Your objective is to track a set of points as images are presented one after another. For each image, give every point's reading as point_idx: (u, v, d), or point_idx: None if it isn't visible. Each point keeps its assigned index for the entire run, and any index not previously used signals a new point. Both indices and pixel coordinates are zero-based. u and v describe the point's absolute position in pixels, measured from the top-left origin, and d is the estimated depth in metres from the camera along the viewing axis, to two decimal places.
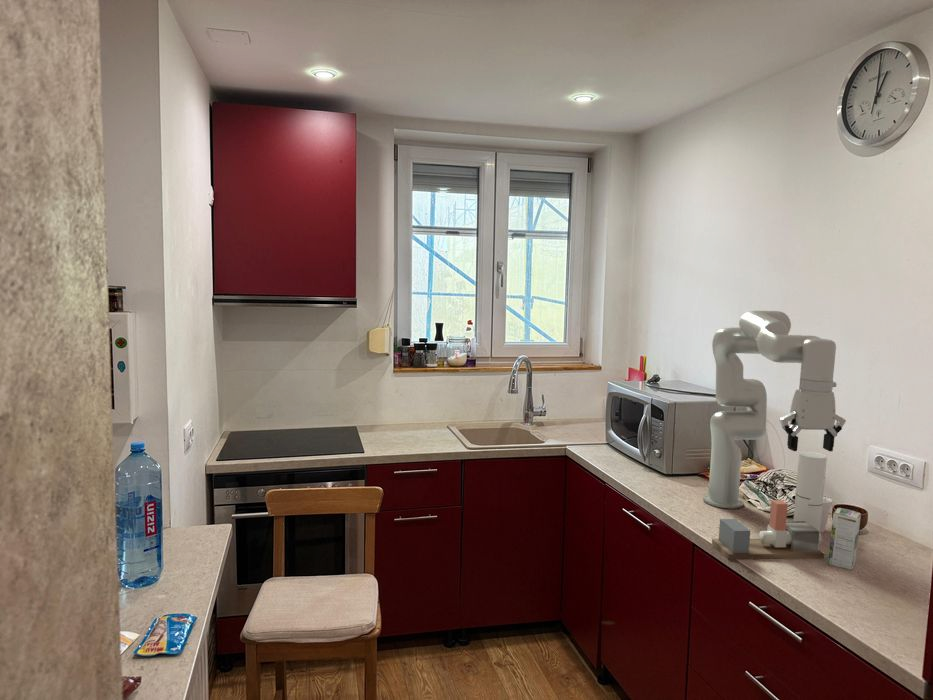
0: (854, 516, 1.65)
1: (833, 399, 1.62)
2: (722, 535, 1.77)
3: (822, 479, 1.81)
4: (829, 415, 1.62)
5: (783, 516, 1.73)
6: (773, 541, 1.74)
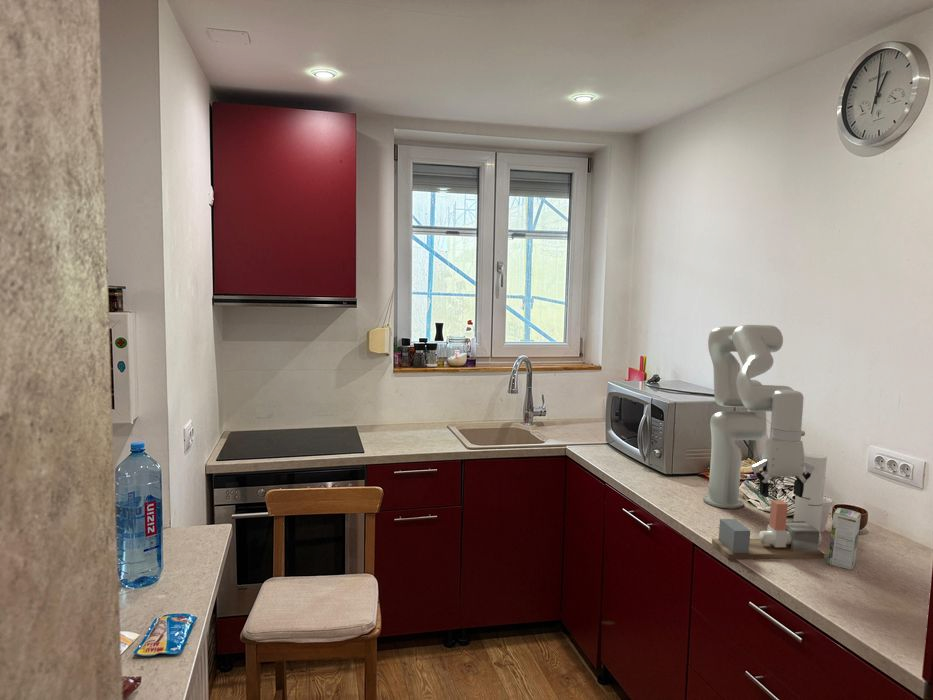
0: (854, 516, 1.65)
1: (802, 448, 1.70)
2: (722, 535, 1.77)
3: (822, 479, 1.81)
4: (798, 463, 1.70)
5: (783, 516, 1.73)
6: (773, 541, 1.74)
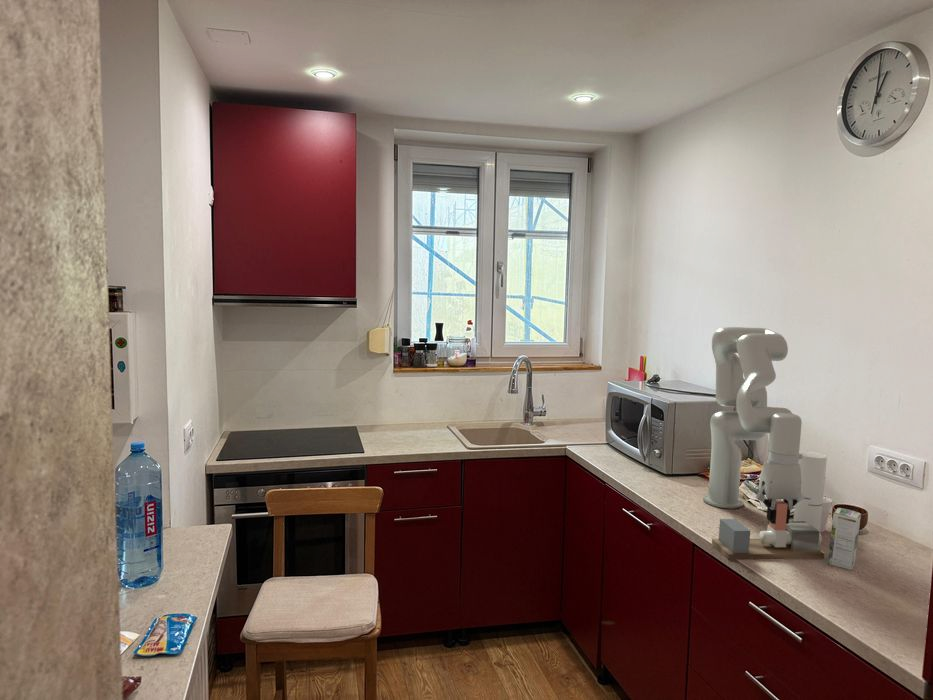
0: (854, 516, 1.65)
1: (799, 471, 1.71)
2: (722, 535, 1.77)
3: (822, 479, 1.81)
4: (795, 486, 1.72)
5: (783, 516, 1.73)
6: (773, 541, 1.74)
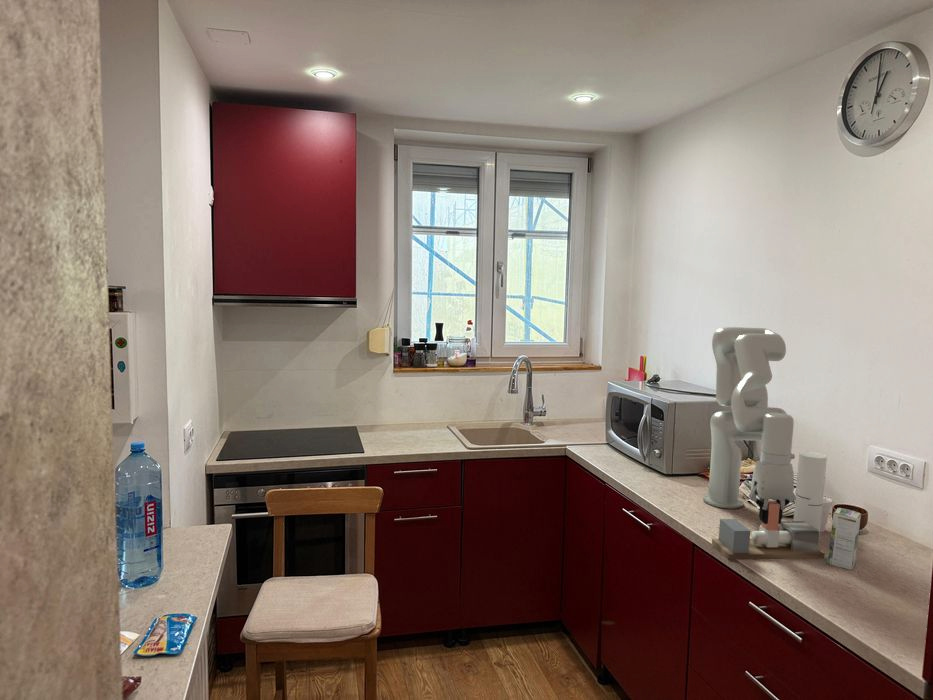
0: (854, 516, 1.65)
1: (791, 471, 1.71)
2: (722, 535, 1.77)
3: (822, 479, 1.81)
4: (788, 486, 1.71)
5: (775, 516, 1.73)
6: (765, 541, 1.74)
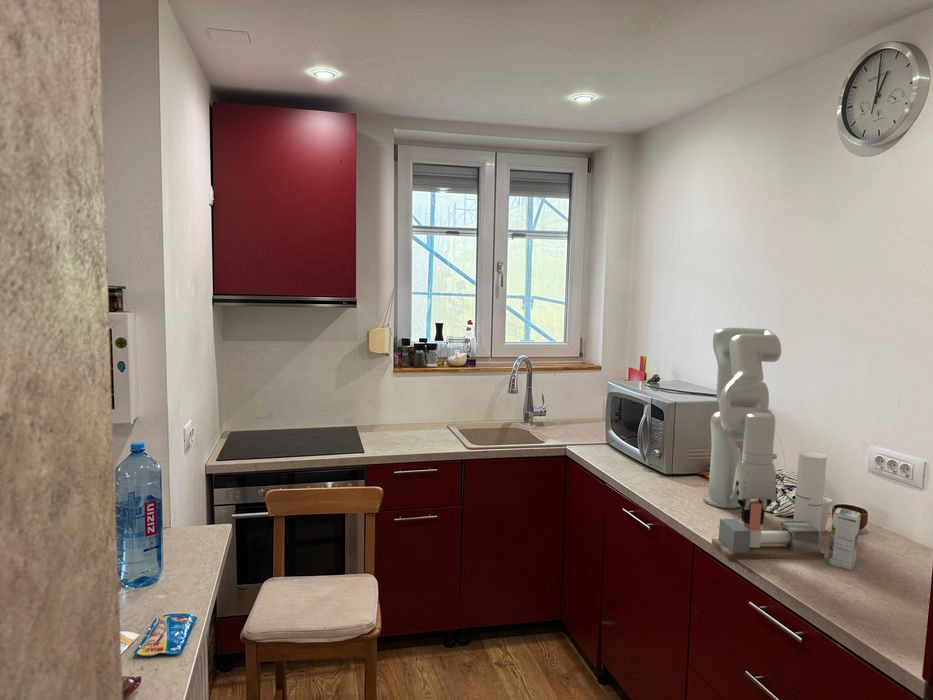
0: (854, 516, 1.65)
1: (773, 471, 1.71)
2: (722, 535, 1.77)
3: (822, 479, 1.81)
4: (769, 486, 1.71)
5: (757, 516, 1.73)
6: None
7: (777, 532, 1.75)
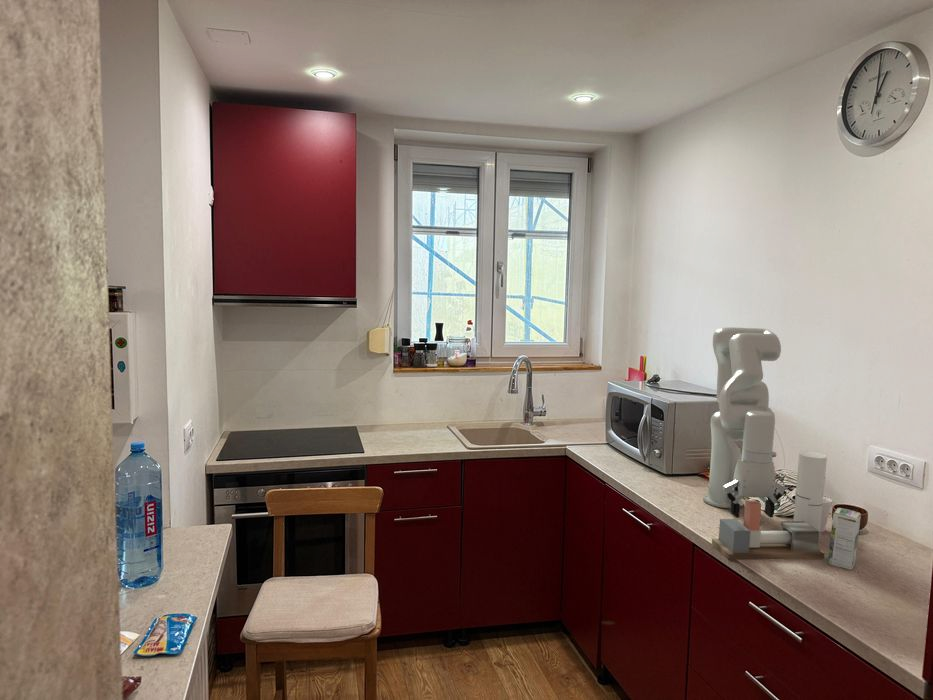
0: (854, 516, 1.65)
1: (773, 469, 1.71)
2: (722, 535, 1.77)
3: (822, 479, 1.81)
4: (769, 484, 1.71)
5: (757, 516, 1.73)
6: None
7: (777, 532, 1.75)
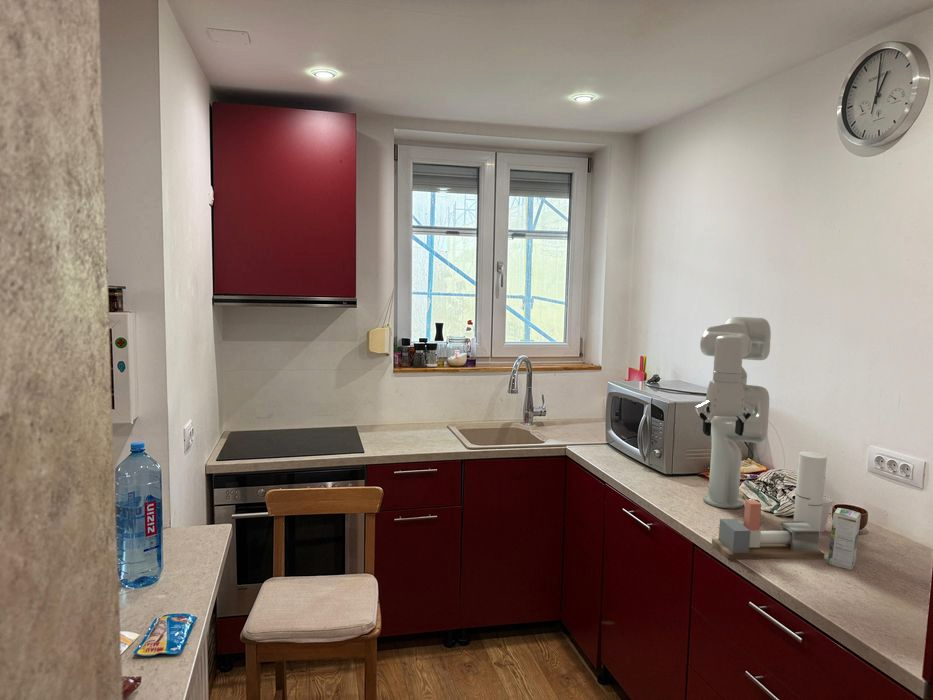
0: (854, 516, 1.65)
1: (741, 389, 1.82)
2: (722, 535, 1.77)
3: (822, 479, 1.81)
4: (738, 403, 1.82)
5: (757, 516, 1.73)
6: None
7: (777, 532, 1.75)
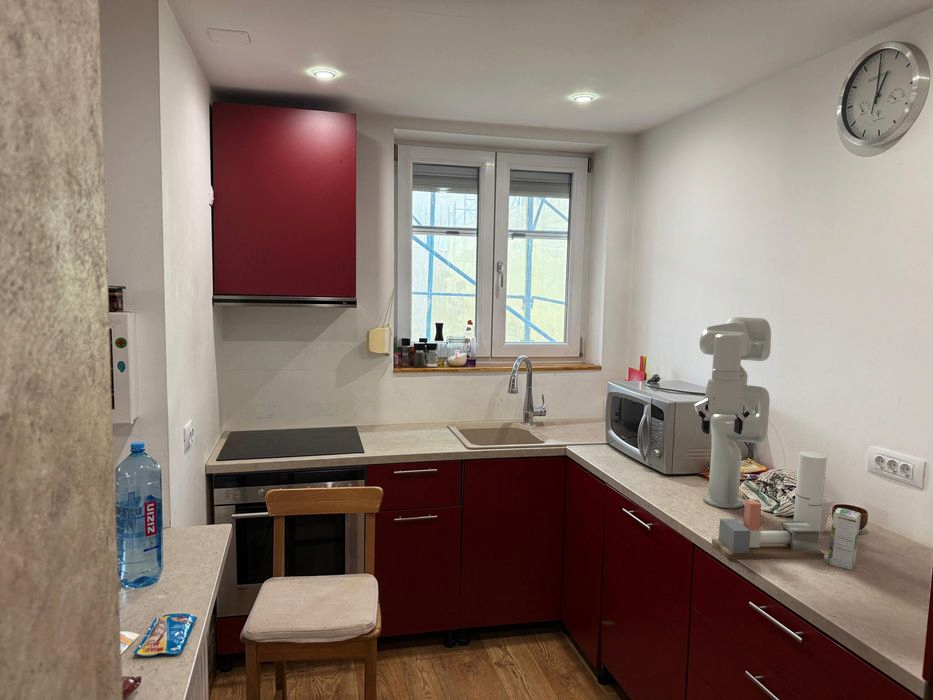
0: (854, 516, 1.65)
1: (740, 387, 1.82)
2: (722, 535, 1.77)
3: (822, 479, 1.81)
4: (737, 402, 1.82)
5: (757, 516, 1.73)
6: None
7: (777, 532, 1.75)
